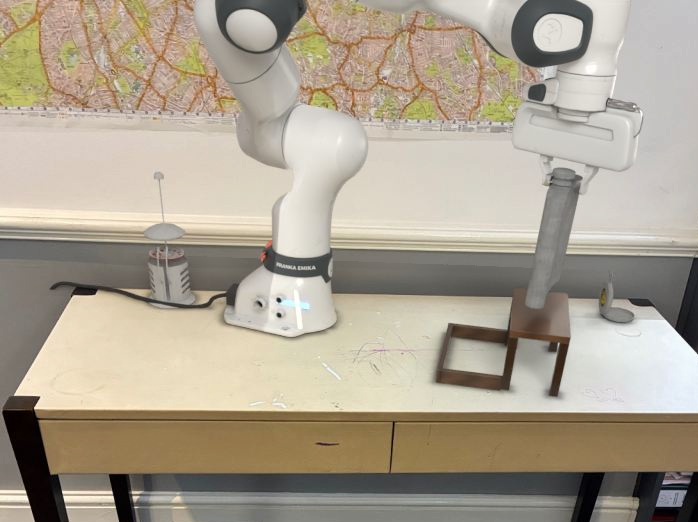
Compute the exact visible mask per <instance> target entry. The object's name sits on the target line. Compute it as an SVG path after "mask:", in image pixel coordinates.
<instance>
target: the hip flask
mask: <svg viewBox="0 0 698 522" xmlns="http://www.w3.org/2000/svg"><path fill="white" fill-rule="evenodd" d="M576 173H577V172H576V170H574V169H571V168H568V167H559V166H558V167H554V168H552V175H553V176H554V177H553V178H552V184H551V186H550V187H549V186H548V189H547V190H546V194H545V201H544V204H543V210H542V214H541V219H540V225H539V230H538V234H537V239H536V244H535V250H534V255H533V260H532V266H531V270H530V275H529V280H528V285H527V289H528V290H527V295H526V300H525V304H526V306H528V307H530V308H534V309H540V308H543V307H544V304H545V299H546V295H547V293H548V292H549V291H550V290H551V289H552V288H553V286H554V285H556V283H558V282H559V281H560V280H561V277H562V272H563V269H564V264H565V259H566V255H567V250H568V245H569V241H570V237H571V233H572V229H573V223H574V220H575V214H576V210H577V206H578V201H579V197H580V194H576V193H574V189H575V182H576V181H579V180H582V179H583V178H584V177H583V176H582V175H580V174H576Z"/></svg>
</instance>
